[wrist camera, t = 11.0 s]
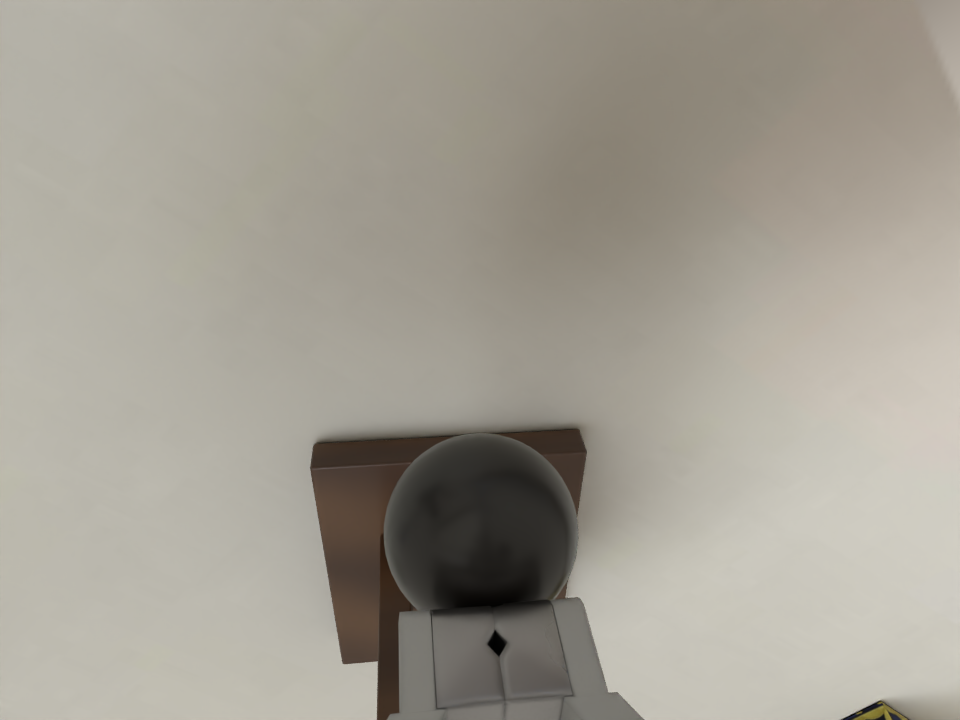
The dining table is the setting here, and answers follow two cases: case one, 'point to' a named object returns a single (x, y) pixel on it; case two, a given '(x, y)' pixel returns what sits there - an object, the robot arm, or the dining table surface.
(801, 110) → the dining table surface
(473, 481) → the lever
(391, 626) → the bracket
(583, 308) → the dining table surface
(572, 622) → the robot arm
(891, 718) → the decorative box
